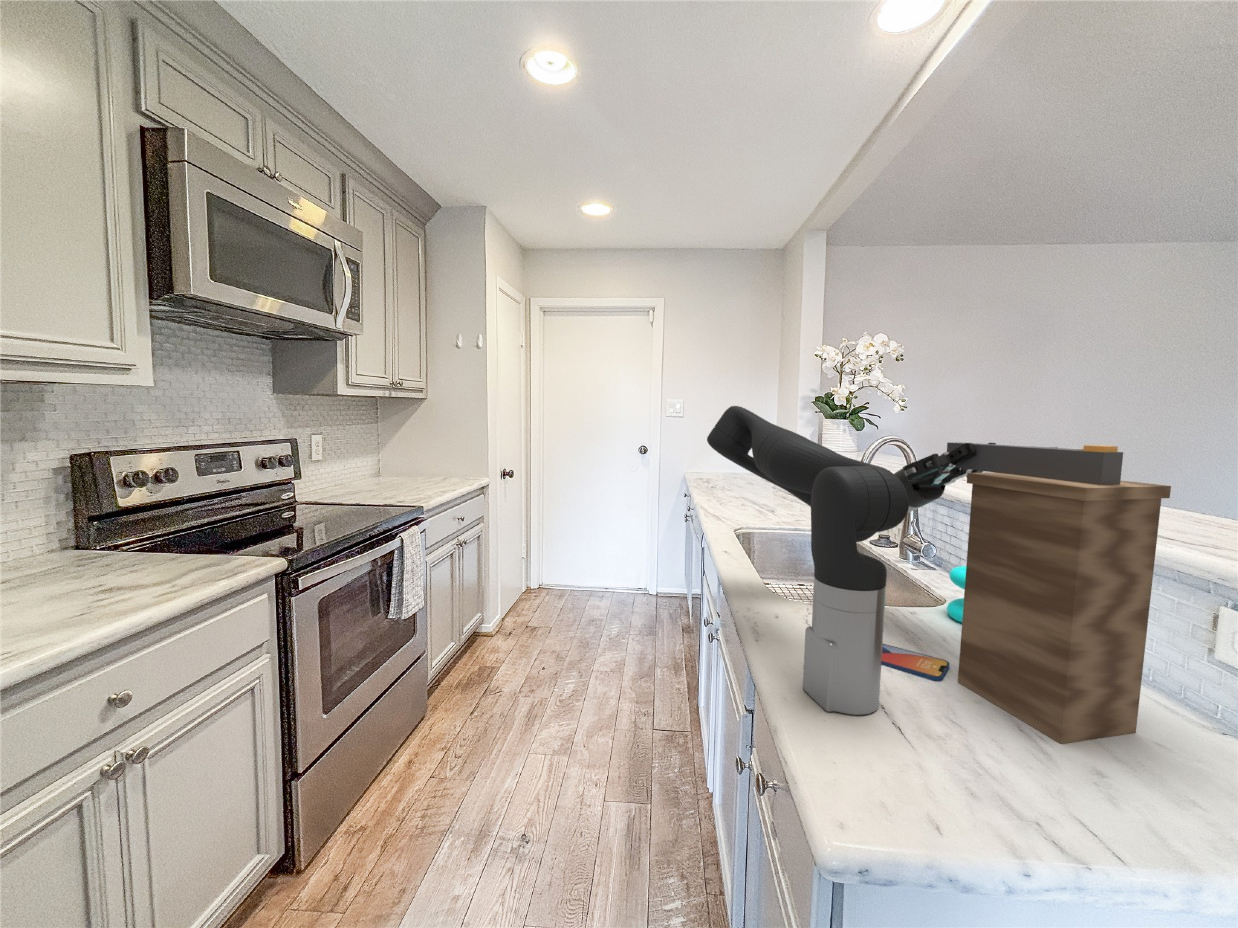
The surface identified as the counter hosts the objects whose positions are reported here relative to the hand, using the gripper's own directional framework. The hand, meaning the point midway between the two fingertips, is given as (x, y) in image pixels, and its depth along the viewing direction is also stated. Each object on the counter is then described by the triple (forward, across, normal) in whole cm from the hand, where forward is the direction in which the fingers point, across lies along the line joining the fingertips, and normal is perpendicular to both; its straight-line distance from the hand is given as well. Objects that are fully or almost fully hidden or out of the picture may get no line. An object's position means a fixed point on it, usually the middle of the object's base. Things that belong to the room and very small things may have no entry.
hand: (984, 448), depth 80 cm
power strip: (+4, 0, +6) cm, 7 cm away
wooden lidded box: (-8, 0, +36) cm, 37 cm away
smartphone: (-22, -10, +29) cm, 38 cm away
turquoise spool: (-31, +18, +23) cm, 43 cm away
